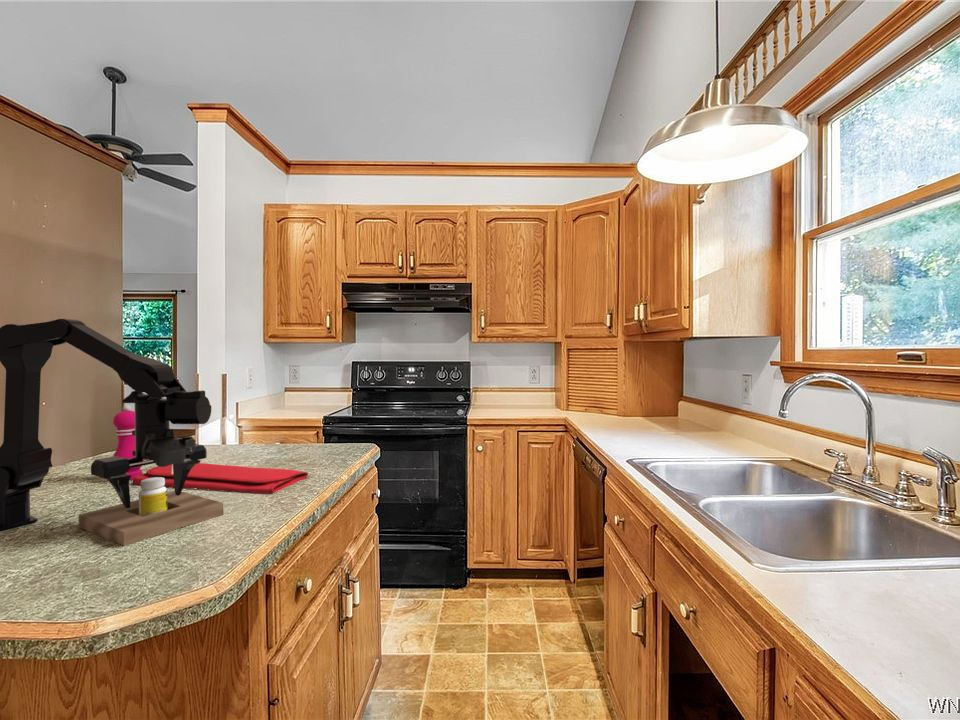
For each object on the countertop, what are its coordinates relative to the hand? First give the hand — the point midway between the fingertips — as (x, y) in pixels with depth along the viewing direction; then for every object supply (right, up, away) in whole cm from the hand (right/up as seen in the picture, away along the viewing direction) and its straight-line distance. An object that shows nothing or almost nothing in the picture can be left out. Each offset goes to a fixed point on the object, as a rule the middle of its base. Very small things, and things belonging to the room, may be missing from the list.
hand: (153, 501), depth 94 cm
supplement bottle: (0, -4, 0) cm, 4 cm away
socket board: (0, -4, 0) cm, 4 cm away
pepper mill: (-29, -4, +32) cm, 43 cm away
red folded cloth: (-2, -4, +29) cm, 29 cm away
